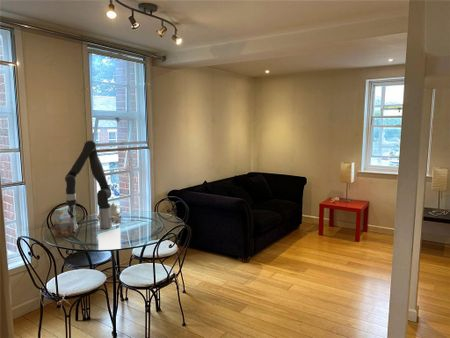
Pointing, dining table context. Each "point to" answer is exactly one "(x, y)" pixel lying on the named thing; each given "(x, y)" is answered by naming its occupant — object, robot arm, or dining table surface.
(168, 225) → the dining table surface
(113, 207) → the chinaware
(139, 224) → the dining table surface
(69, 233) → the deck
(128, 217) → the dining table surface
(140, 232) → the dining table surface
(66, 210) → the snack box
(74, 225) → the slab
